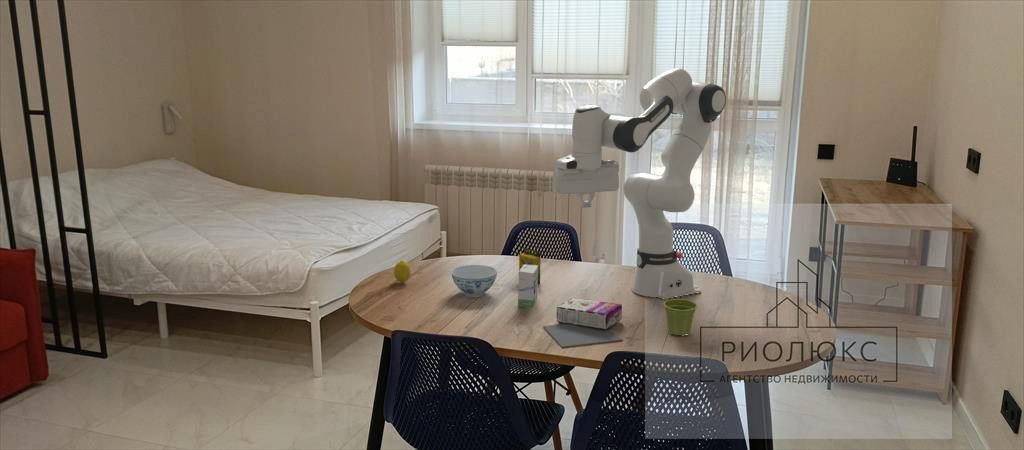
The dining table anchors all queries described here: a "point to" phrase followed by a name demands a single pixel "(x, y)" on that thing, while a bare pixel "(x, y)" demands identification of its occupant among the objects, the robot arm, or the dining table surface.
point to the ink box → (528, 286)
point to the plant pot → (679, 315)
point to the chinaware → (474, 279)
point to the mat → (580, 335)
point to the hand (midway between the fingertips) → (585, 206)
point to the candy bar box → (589, 313)
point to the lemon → (402, 271)
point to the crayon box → (530, 260)
